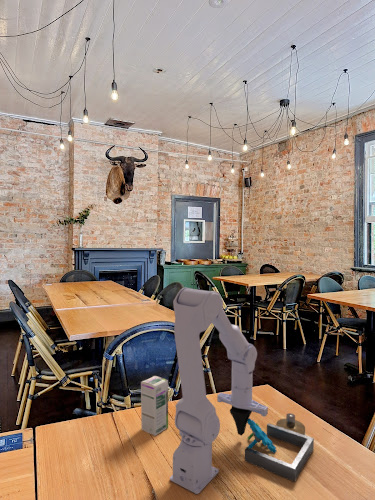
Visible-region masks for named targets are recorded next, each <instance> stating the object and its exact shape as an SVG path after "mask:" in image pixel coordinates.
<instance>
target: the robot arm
mask: <svg viewBox="0 0 375 500" xmlns="http://www.w3.org/2000/svg"><path fill="white" fill-rule="evenodd" d="M172 303H173V310H174V317H175V318H174V327H173V330H174V331H173V333H174V340H175V342H174V343H175V348H176V356H177V362H178V363H177V364H178V370H179V371H178V372H179V378H180V385H181V393H182V397H181V398H180V399H179V400H178V402H177V403H176V404H175V416H174V425H175V428H176V429H177V430H178V431H179V434H178V435H179V436H180V443H179V445H178V446H177V447H176V449H175V450H174V451H173V454H172V475H171V476H169V480H170V481H171V482H173V483H174V484H176V485H179V486H180V487H183V488H184V489H186V490H188V491H190V492H191V493H193V494H195V495H198V494H200V493H201V491H202V490H204V488H205V487H206V486H207V485H208V484H209V483H210V482H211V481H212V480H213V479H214V478H215V477H216V476H217V475H218V473H219V472H220V469H219V468H217V467H214V466H213V465H212V463H213V442H214V441H215V440H216V439H217V437H218V436H219V434H220V430H221V420H220V418H219V416H218V415H217V410H216V407H215V406H214V404H213V403H212V402H211V401H210V400H209V398H208V397H207V390H206V383H205V375H204V374H205V373H204V366H203V357H202V349H201V340H200V335H201V333H203V332H205V331H207V329H208V328H209V327H210V325H213V327H215V329H216V330H217V331H218V333H219V335H218V336H219V337H218V338H219V340H220V341H221V343H222V345H223V346H224V347H225V349H226V355H227V359H228V360H230V361H231V393H223V392H219V393H218V394H217V399H216V400H217V403H224V404H227V405H230V406H231V408H230V409H229V413H230V415H231V417H232V419H233V421H234V423H235V427H236V431H237V435H239V436H242V435H245V433H246V427H247V424H248V423H247V422H248V421H247V420H248V419H249V418H250V417H251V414H252V413H257V414H259V415H261V417H263V418H265V417H267V415H268V411H269V410H268V409H269V407H268V406H266V405H263V404H262V403H259V402H258V401H256V400H254V399H253V371H255V367H256V365H255V364H256V360H257V357H258V351H257V348H256V347H255V346H254V344H252V343H249V342H248V340H247V338H246V337H245V335H244V334H243V333H242V331H241V328H240V326H239V325H236V324H232V323H231V322H230V320H229V318H228V316H227V314H226V312H225V310H224V309H223V307H224V300H223V299H222V298H221V296H220V294H219V292H217V291H215V290H203V289H195V288H190V287H183V288H181V289H179V291H178V292H177V294H176V296H175V298H174V299H173V301H172Z"/></svg>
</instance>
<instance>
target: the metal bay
mask: <svg viewBox="0 0 375 500" xmlns="http://www.w3.org/2000/svg"><path fill="white" fill-rule="evenodd" d="M266 435H267V437H270V438H273V439H277V440H279V441H282V442H283V443H287V444H290V445H293V446H295V447H299V448H301V449H300V450H299V452H298V453H297V455H296V456H295V458H294V460H293V461H292V462H291V463H288V462H287V461H283V460H281V459H278V458H276V457H273V456H270V455H268V454H267V453H263V452H260V451H258V450H256V449H254V448H252V449H251V448H248V446H246V447H245V449H244V462H246V463H249V464H250V465H253V466H256V467H258V468H260V469H263V470H265V471H267V472H270V473H272V474H275V475H278V476H279V477H282V478H285V479H287V480H289V481H292V482H294V483H295V482H296V480H297V479H298V477H299V475H300V474H301V471H302V470H303V469H304V466H305V465H306V463H307V461H308V459H309V458H310V456H311V454H313V451H314V448H315V447H314V444H315V443H314V440H315V438H314V437H311V436H308V435H306V434H305V435H303V434H300V433H297V432H294V431H291V430H288V429H285V428H282V427H279V426H276V425H275V424H272V423H269V422H268V423H267V424H266Z"/></svg>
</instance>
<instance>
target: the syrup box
mask: <svg viewBox="0 0 375 500" xmlns="http://www.w3.org/2000/svg"><path fill="white" fill-rule="evenodd" d="M140 406H141V408H140V410H141V412H140V413H141V415H140V416H141V424H140V425H141V427H140V428H141V430H142V431H144V432H146V433H147V434H150V435H152V436H154V437H156V436H157V435H158V434H160V433H162V432H163V431H165V430H167V429H168V428H169V380H168V379H166V378H163V377H160V376H157V375H152V377H150V378H148V379H145V380H142V381H140Z"/></svg>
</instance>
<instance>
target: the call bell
mask: <svg viewBox="0 0 375 500" xmlns="http://www.w3.org/2000/svg"><path fill="white" fill-rule="evenodd" d="M285 416H286V418H280V419H278V420H277V421H276V423H275V424H276V426H279V427H282V428H285V429H288V430H291V431H294V432H297V433H300V434H303V435H306V426H305V425H304V424H303V423H302V422H301V421H300V420H297V419H296V415H295V414H293V413H290V412H289V413H286V415H285Z"/></svg>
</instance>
